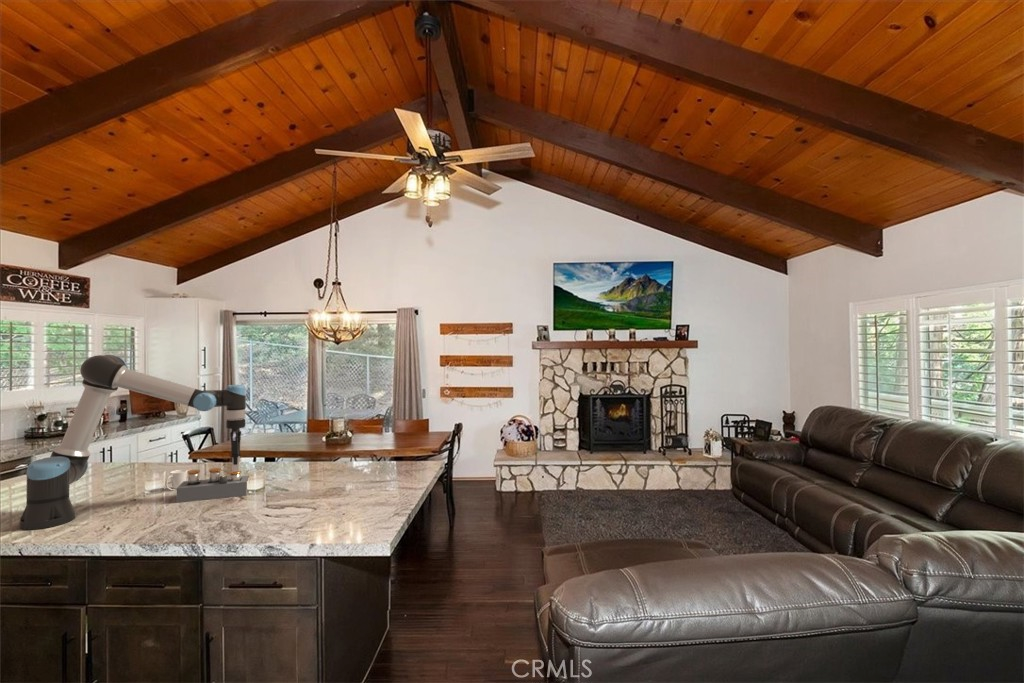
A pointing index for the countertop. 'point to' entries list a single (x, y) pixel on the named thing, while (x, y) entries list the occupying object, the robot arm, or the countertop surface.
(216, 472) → the knob mid
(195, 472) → the knob near
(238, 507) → the countertop surface
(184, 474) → the cup
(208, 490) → the panel
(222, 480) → the dial
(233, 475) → the knob far
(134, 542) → the countertop surface
